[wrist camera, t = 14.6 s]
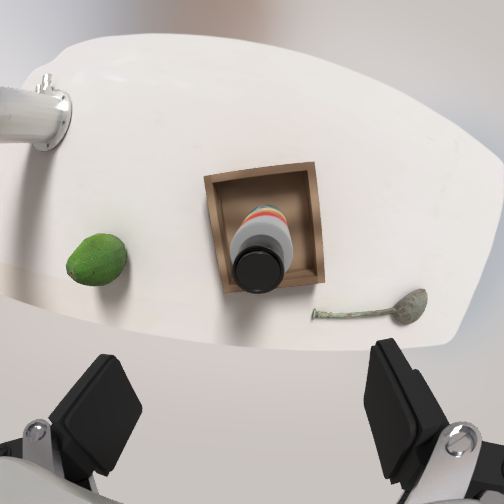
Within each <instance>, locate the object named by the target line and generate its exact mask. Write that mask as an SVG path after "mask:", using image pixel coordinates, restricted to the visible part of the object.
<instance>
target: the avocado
mask: <svg viewBox="0 0 504 504" xmlns="http://www.w3.org/2000/svg"><path fill="white" fill-rule="evenodd" d="M125 262H126V249H125V246H124V243H123V242H122V241H121V240H120V239H119V238H117V237H115V236H113V235H111V234H95V235H93V236H91V237H88V238H86V239H84V241H83V242H82V243H81V244H80V245H79V247H78V248H77V249H76V250H75V251H74V252H73V254H72V255H71V256H70V257H69V259H68V261H67V264H66V270H67V274H68V275H69V276H70V277H71V278H72V279H73V280H74V281H76V282H77V283H80V284H83V285H87V286H102V285H106V284H109V283H110V282H112V281H113V280H115V279H116V278H117V277H118V276H119V275H120V273H121V271H122V269H123V267H124V265H125Z"/></svg>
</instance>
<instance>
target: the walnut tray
mask: <svg viewBox="0 0 504 504" xmlns="http://www.w3.org/2000/svg"><path fill="white" fill-rule="evenodd" d="M204 183H205V189H206V195H207V202H208V208H209V214H210V220H211V226H212V232H213V238H214V243H215V249H216V255H217V260H218V266H219V271H220V276H221V282H222V287H223V292H224V293H230V292H241V291H244V290H242V289H241V288H240V287H239V286H238V285H237V284H236V283H235V281H234V278H233V275H232V266H233V264H232V261H231V258H230V246H231V242H232V240H233V237H234V236H235V234H236V232H237V231H238V229H239V228H240V226H241V225H242V223H243V222H244V220H245V219H246V217H247V216H248V214H249V213H250V212H251V211H252V210H253V209H254V208H256V207H257V206H260V205H272V206H275V207H276V208H278V209H279V210H280V211H281V212H282V213H283V215H284V216H285V219H286V222H287V226H288V229H289V233H290V237H291V241H292V246H293V258H292V262H291V264H290V266H289V268H288V270H287V271H286V272H285V273H284V277H283V280H282V282H281V283H280V285H279V286H278V287H276V288H282V287H291V286H300V285H308V284H317V283H325V271H324V254H323V240H322V228H321V217H320V206H319V197H318V188H317V179H316V171H315V163H314V162H305V163H294V164H285V165H277V166H268V167H261V168H253V169H246V170H239V171H233V172H226V173H220V174H214V175H209V176H204Z"/></svg>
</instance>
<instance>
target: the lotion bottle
mask: <svg viewBox="0 0 504 504" xmlns="http://www.w3.org/2000/svg"><path fill="white" fill-rule="evenodd" d="M230 258H231V261H232V264H233V266H232V275H233V278H234V281H235V283H236V284H237V285H238V286H239V287H240V288H241V289H242V290H244V291H246V292H249V293H254V294H261V293H266V292H269V291H272V290H273V289H275V288H276V287H278V286H279V285H280V283H281V282H282V280H283V277H284V273H285V272H286V271H287V270H288V268H289V266H290V264H291V262H292V258H293V246H292V241H291V237H290V233H289V229H288V226H287V222H286V219H285V216H284V215H283V213H282V212H281V211H280V210H279V209H278V208H276V207H275V206H272V205H260V206H257V207H256V208H254V209H253V210H252V211H251V212H250V213H249V214H248V216H247V217H246V219H245V220H244V222H243V223H242V225H241V226H240V228H239V229H238V231H237V232H236V234H235V236H234V237H233V240H232V242H231V246H230Z"/></svg>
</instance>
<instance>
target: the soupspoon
mask: <svg viewBox="0 0 504 504" xmlns="http://www.w3.org/2000/svg"><path fill="white" fill-rule="evenodd" d="M426 305H427V293H426V290H425V289H418V290H415V291H413V292H411V293H410V294H408V295H407V296H406V297H404V298H403V299H402V300H401V301H400V302H399V303H398V304H397V305H396V306H395V307H394V308H390V309H384V310H377V311H367V312H356V313H337V314H333V313H331V312H330V313H327V312H320V311H318V312H316V310H315V309H314V313H313V319H315V317H317V318H320V317H324V318H325V317H329V318H331V317H357V316H370V315H382V314H389V313H393V314H394V316H395V318H396V319H397V320H398V321H399V322H401V323H403V324H410V323H413V322H415V321H416V320H418V319H419V318H420V316H421V315H422V314H423V312H424V310H425V308H426Z"/></svg>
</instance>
